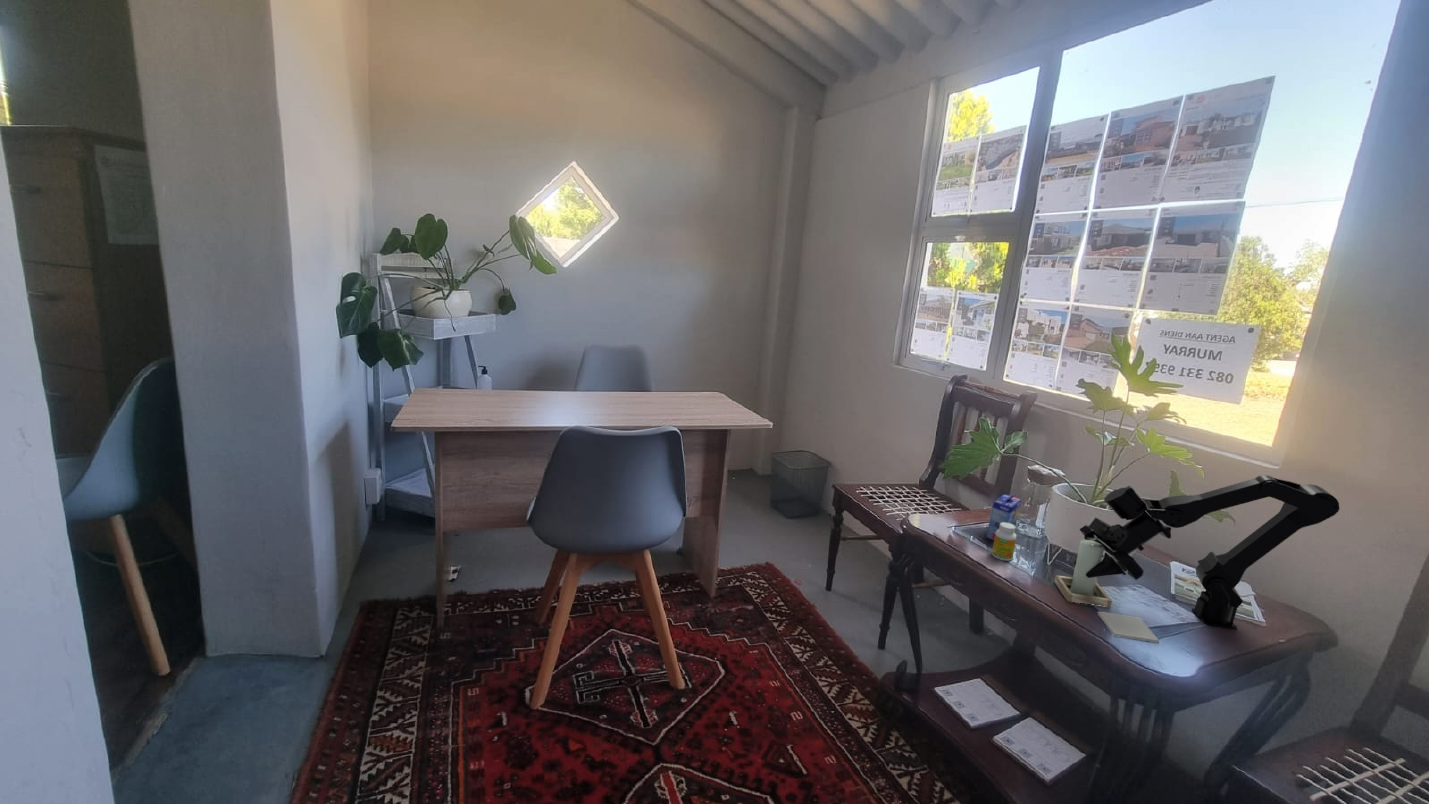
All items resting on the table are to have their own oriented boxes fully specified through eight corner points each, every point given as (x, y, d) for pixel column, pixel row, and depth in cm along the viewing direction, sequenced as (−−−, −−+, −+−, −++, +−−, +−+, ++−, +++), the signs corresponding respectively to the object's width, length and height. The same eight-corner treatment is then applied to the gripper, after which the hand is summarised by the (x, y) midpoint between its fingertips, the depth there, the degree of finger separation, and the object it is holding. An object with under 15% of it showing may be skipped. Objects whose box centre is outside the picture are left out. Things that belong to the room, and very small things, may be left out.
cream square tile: (1139, 619, 138) (1139, 617, 138) (1158, 642, 130) (1159, 640, 130) (1097, 613, 140) (1097, 611, 140) (1114, 636, 132) (1114, 633, 132)
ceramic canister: (1088, 590, 150) (1099, 541, 147) (1096, 601, 146) (1107, 550, 142) (1066, 587, 151) (1077, 538, 148) (1074, 598, 147) (1085, 547, 143)
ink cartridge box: (1004, 544, 174) (1012, 499, 171) (985, 538, 178) (993, 494, 174) (1015, 535, 181) (1023, 491, 178) (996, 529, 185) (1004, 486, 181)
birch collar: (1094, 587, 152) (1095, 580, 152) (1110, 608, 143) (1112, 600, 142) (1054, 581, 154) (1055, 575, 153) (1067, 601, 145) (1069, 594, 144)
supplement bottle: (993, 558, 165) (998, 527, 163) (990, 550, 170) (996, 519, 168) (1013, 562, 163) (1019, 531, 161) (1010, 554, 168) (1016, 523, 166)
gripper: (1094, 496, 152) (1043, 532, 155) (1141, 527, 134) (1082, 567, 137) (1118, 526, 153) (1068, 560, 156) (1168, 561, 135) (1110, 599, 138)
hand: (1080, 570), depth 147 cm, fingers closed on ceramic canister, 5 cm apart
